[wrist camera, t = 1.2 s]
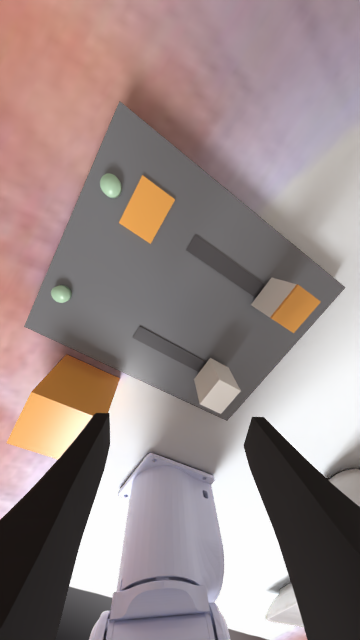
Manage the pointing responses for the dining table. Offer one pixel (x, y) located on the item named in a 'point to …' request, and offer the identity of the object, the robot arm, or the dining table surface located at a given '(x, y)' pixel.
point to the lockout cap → (63, 407)
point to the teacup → (348, 484)
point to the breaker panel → (169, 271)
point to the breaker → (216, 386)
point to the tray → (285, 608)
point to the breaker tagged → (285, 303)
